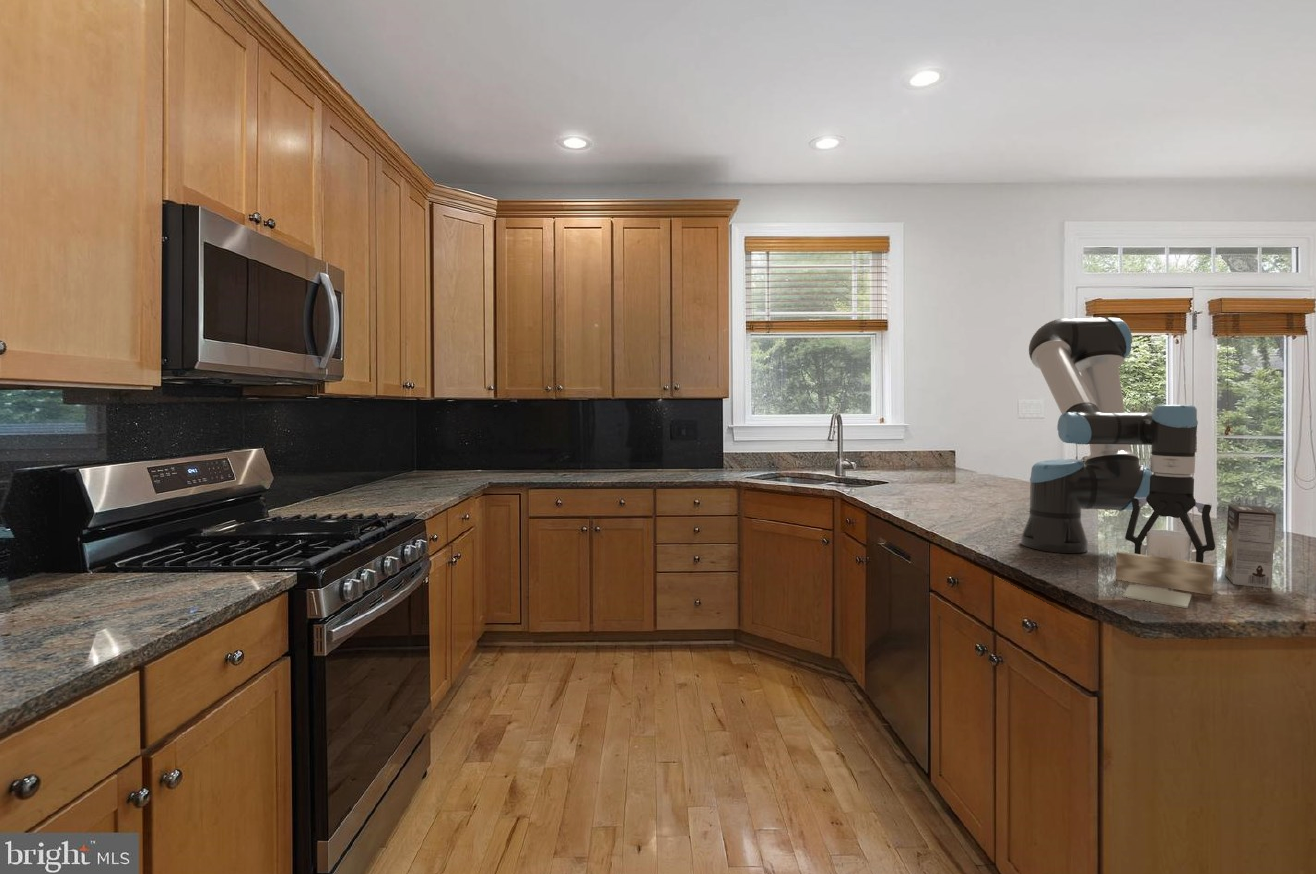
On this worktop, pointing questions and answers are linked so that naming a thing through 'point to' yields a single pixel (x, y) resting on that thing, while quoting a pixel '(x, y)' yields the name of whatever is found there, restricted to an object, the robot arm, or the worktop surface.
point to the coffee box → (1250, 545)
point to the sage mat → (1158, 595)
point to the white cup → (1168, 544)
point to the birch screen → (1165, 572)
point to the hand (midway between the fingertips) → (1167, 576)
